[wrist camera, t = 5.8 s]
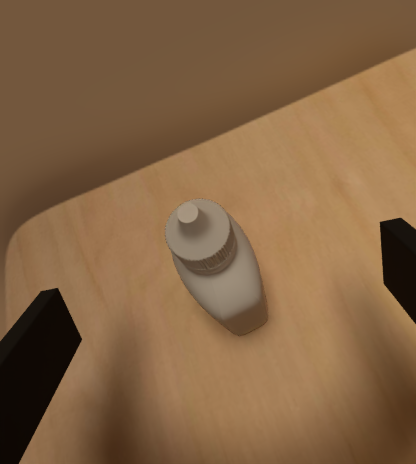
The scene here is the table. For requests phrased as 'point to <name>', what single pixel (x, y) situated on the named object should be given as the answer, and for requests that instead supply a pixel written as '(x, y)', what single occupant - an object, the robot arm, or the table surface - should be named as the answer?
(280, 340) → the table surface
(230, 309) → the eye dropper bottle
